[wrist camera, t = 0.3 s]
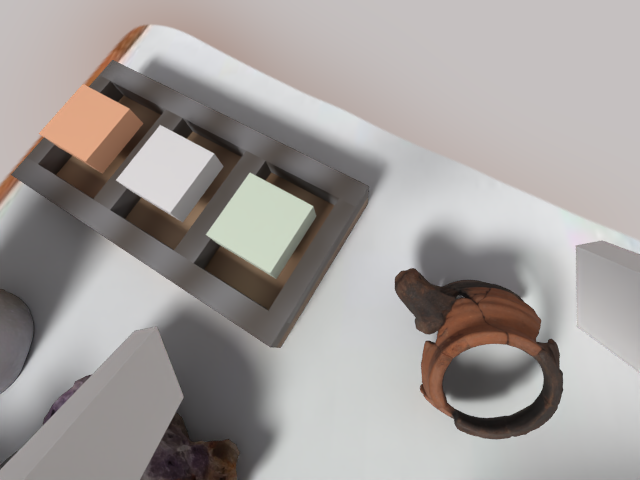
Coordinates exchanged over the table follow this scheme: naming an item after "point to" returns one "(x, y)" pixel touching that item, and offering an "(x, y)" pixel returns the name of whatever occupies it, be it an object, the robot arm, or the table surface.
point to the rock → (179, 451)
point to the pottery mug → (473, 330)
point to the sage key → (262, 224)
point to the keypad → (204, 206)
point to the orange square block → (92, 128)
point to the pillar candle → (13, 337)
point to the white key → (171, 172)
